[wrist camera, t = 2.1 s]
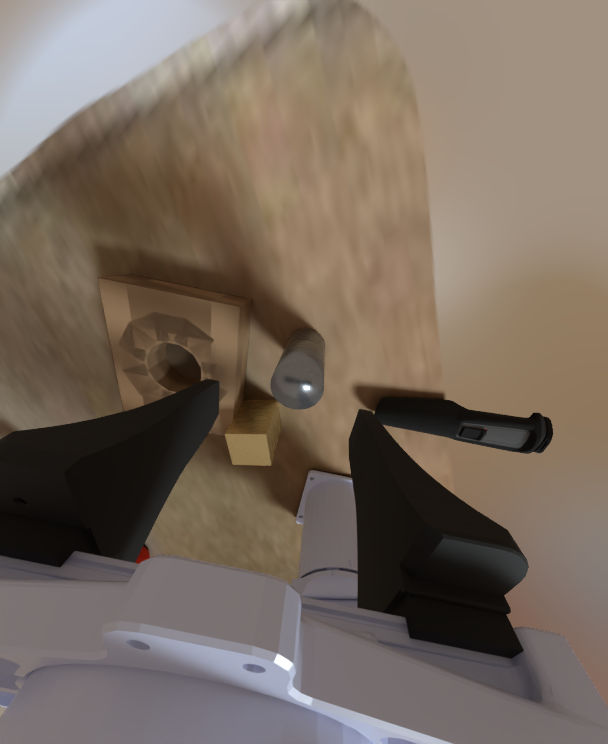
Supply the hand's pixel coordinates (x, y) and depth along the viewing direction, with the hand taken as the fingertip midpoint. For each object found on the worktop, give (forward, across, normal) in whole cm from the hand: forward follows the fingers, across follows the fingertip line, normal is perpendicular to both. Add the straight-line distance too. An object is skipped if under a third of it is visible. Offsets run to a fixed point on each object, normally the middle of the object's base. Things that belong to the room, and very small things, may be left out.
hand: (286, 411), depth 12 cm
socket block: (+9, +10, +3) cm, 14 cm away
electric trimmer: (+10, -15, +4) cm, 18 cm away
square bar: (+10, +3, +8) cm, 13 cm away
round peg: (+9, 0, 0) cm, 9 cm away
